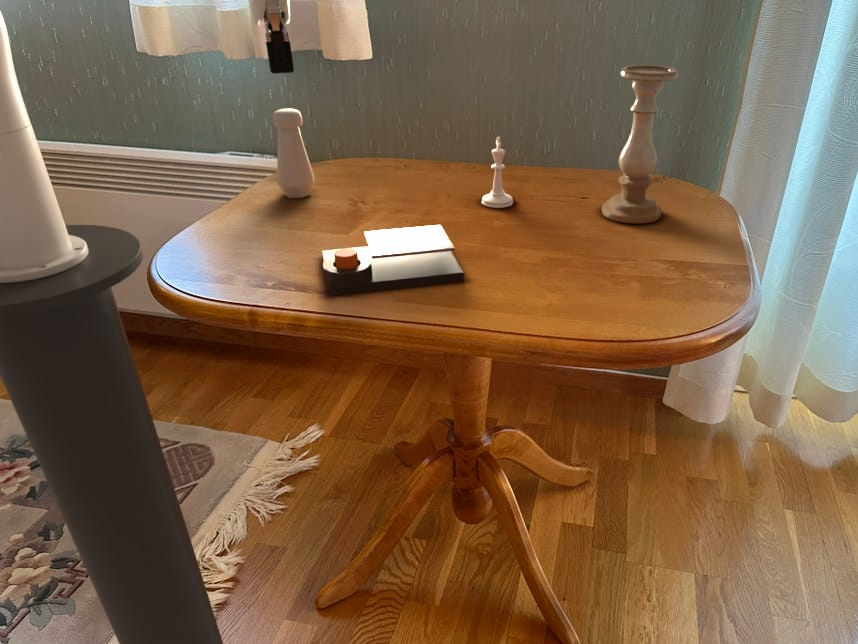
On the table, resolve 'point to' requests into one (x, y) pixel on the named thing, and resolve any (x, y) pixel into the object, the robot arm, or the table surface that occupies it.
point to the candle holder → (639, 148)
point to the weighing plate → (407, 241)
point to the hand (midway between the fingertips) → (281, 66)
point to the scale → (390, 272)
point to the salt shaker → (292, 155)
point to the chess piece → (497, 182)
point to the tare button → (346, 258)
